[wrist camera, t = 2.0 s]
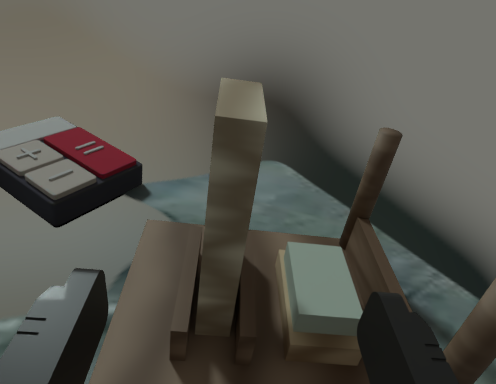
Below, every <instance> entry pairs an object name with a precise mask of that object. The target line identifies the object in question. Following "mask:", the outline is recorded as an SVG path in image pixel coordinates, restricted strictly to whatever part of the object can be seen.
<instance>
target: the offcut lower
mask: <svg viewBox="0 0 496 384" xmlns="http://www.w3.org/2000/svg"><path fill="white" fill-rule="evenodd" d="M284 254H285V250H279V251H278V255H277V259H276V263H275V268H276V278H277V287H278V297H279V306H280V316H281V326H282V335H283V345H284V355H285V361H295V362H310V363H324V364H338V365H353V366H357V365H358V363H359V361H360V359H361V358H362V355H361V352H360V348H359V345H358V341H357V336H346V335H333V334H320V333H307V332H294V331H293V326H292V318H291V311H290V303H289V296H288V288H287V281H286V273H285V266H284Z"/></svg>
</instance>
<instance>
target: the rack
mask: <svg viewBox="0 0 496 384" xmlns="http://www.w3.org/2000/svg"><path fill="white" fill-rule="evenodd" d="M401 138H402V134H401V133H400V132H399V131H396V130H394V129H390V128H381V129H380V130H379V132H378V135H377V138H376V141H375V144H374V147H373V149H372V152H371V155H370V158H369V161H368V163H367V166H366V169H365V172H364V174H363V177H362V180H361V183H360V186H359V188H358V191H357V194H356V197H355V200H354V202H353V205H352V208H351V210H350V213H349V216H348V219H347V222H346V224H345V227H344V230H343V233H342V235H341V238H340V239H338V238H328V237H318V236H308V235H298V234H288V233H278V232H268V231H258V230H248V235H247V240H246V246H245V252H244V257H243V263H242V268H241V274H240V280H239V285H238V291H237V297H236V302H235V308H234V314H233V319H232V325H231V331H230V336H229V337H224V336H210V335H197V334H195V326H196V316H197V305H198V294H199V283H200V273H201V262H202V251H203V240H204V230H205V225H198V224H187V223H177V222H167V221H157V220H147V222H146V225H145V228H144V231H143V233H142V236H141V239H140V242H139V245H138V247H137V250H136V253H135V256H134V258H133V261H132V264H131V267H130V270H129V272H128V275H127V278H126V281H125V284H124V287H123V289H122V292H121V295H120V298H119V301H118V303H117V306H116V309H115V312H114V315H113V317H112V320H111V323H110V326H109V329H108V331H107V334H106V337H105V340H104V343H103V345H102V348H101V351H100V354H99V357H98V359H97V362H96V365H95V368H94V371H93V374H92V376H91V379H90V382H89V384H370V382H369V378H368V375H367V372H366V368H365V365H364V362H363V358H361V359H360V361H359V363H358V365H357V366H353V365H338V364H324V363H310V362H295V361H285V355H284V345H283V335H282V326H281V316H280V306H279V297H278V287H277V278H276V268H275V263H276V259H277V255H278V251H279V250H286V246H287V242H297V243H307V244H318V245H328V246H338V247H341V248H342V251H343V254H344V257H345V260H346V263H347V266H348V269H349V272H350V275H351V278H352V281H353V284H354V287H355V290H356V293H357V296H358V299H359V302H360V305H361V308H362V311H364V308H365V306H366V304H367V301H368V299H369V297H370V295H371V293H372V292H387V293H398V294H400V295H401V296H402V298H403V300H404V302H405V304H406V306H407V308H408V310H409V312H412V310H411V308H410V306H409V304H408V302H407V299H406V297H405V295H404V293H403V291H402V289H401V287H400V285H399V282H398V280H397V278H396V276H395V274H394V272H393V270H392V268H391V265H390V263H389V261H388V259H387V257H386V255H385V253H384V251H383V249H382V246H381V244H380V242H379V240H378V238H377V236H376V234H375V232H374V229H373V227H372V225H371V223H370V221H369V218H370V216H371V213H372V210H373V208H374V205H375V203H376V201H377V198H378V195H379V193H380V191H381V188H382V185H383V183H384V181H385V178H386V176H387V173H388V170H389V168H390V165H391V163H392V161H393V158H394V156H395V153H396V150H397V148H398V145H399V143H400V141H401ZM443 353H444V355H445V357H446V362H448V363H449V365H450V367H451V369H452V371H453V373H454V375H455V376H456V378H457V380H458V382H459V384H474V382H475V381H476V380H477V379H478V378H479V377H480V375H481V374H482V373H483V372H484V371H485V370H486V368H487V367H488V366H489V365H490V364H491V363H492V361H493V360H494V359H495V358H496V278H495V280H494V281H493V283H492V284H491V285H490V287H489V288H488V290H487V291H486V293H485V294H484V295H483V297H482V298H481V299H480V301H479V302H478V303H477V305H476V306H475V308H474V309H473V310H472V312H471V313H470V315H469V316H468V317H467V319H466V320H465V322H464V323H463V324H462V326H461V327H460V329H459V330H458V331H457V333H456V334H455V336H454V337H453V338H452V340H451V341H450V343H449V344H448V345H447V347H446V348H445V349H444V351H443Z"/></svg>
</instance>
